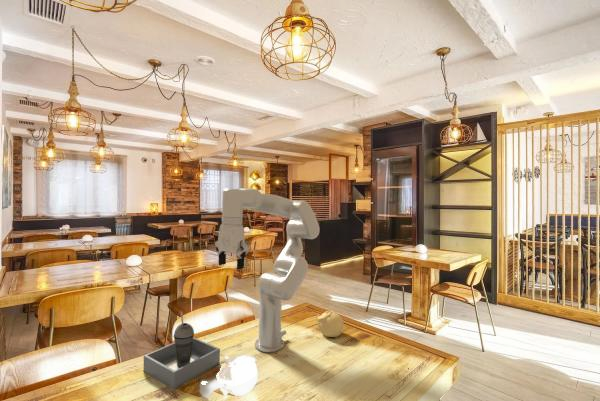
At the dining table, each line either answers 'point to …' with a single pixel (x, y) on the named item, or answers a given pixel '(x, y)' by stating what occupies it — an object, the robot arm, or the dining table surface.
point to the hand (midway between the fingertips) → (231, 266)
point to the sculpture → (330, 324)
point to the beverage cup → (183, 343)
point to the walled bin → (167, 372)
